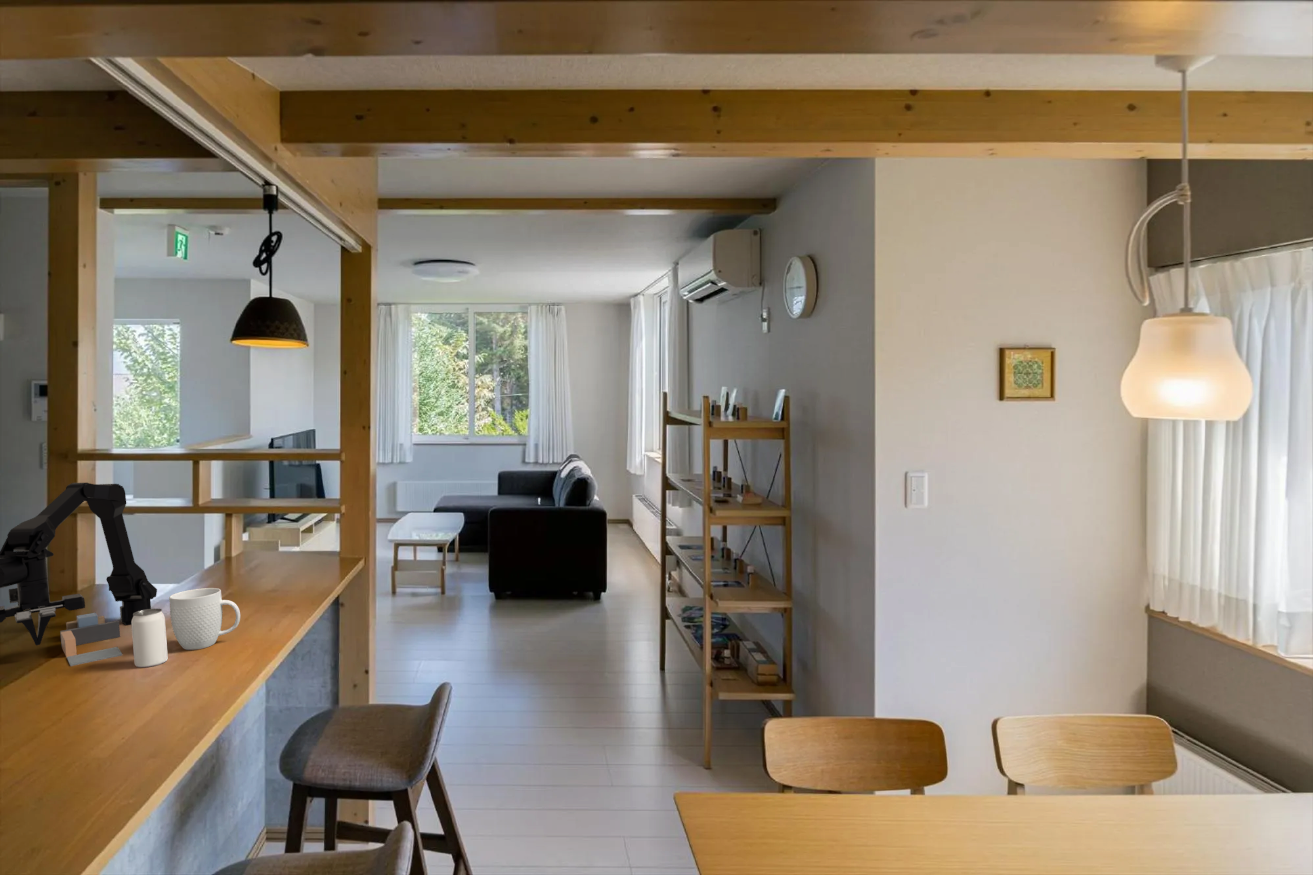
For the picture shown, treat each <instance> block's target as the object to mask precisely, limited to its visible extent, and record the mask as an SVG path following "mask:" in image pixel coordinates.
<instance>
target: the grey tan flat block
mask: <svg viewBox="0 0 1313 875" xmlns="http://www.w3.org/2000/svg"><path fill="white" fill-rule="evenodd" d="M59 632H60V634H59V635H60V642H61V644H60V645H61V649H62V651H63V653H64V655H65V658H67V657H69V656H74V655H78V654H77V646H79V645H86V644H91V643H96V642H101V641H106V640H110V639H112V640H113V639H116V638H117V639H118V638H120V637H121V630H120V621H119V620H114V621H107V622H105V623H102V624H96V625H91V626H85V627H80V628H74V629H69V630H67V629H64V630H60V631H59Z"/></svg>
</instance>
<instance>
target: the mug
mask: <svg viewBox="0 0 1313 875" xmlns="http://www.w3.org/2000/svg"><path fill="white" fill-rule="evenodd" d="M168 600H169V615H170V622H171V628H172V630H173V631H172V632H173V633H174V636H175V639H176V640H177V643H178V644H179V645H180V647H182V649H184V650H186V651H194V650H200V649H201V650H202V649H206V648H208V647H211V646H213V645H215V643H216V642H217V640H218V638H219V636H223V635H226V634H229V633H231V632H233V631H234V630H236V629H237V628H238V626H239V624H240V621H241V612H240V611H241V610H240V608H239V606H238V605H237V604H236V602H234V601H232V600H228V599H222V590H221V589H220V588H218V587H217V588H216V587H206V588H205V587H204V588H196V589H188V590H183V591H180V592H176V593H173V594H171V595H170V596H169V598H168ZM224 605H227V606H228V605H229V606H230V607H231V608H232V609H233V611H234V613H235V619H234V620H235V622H234V623H233V625H232V626H231V627H229V628H228V629H227V628H226V629H224V630H221V628H222V624H223V606H224Z"/></svg>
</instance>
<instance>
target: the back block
mask: <svg viewBox="0 0 1313 875" xmlns="http://www.w3.org/2000/svg"><path fill="white" fill-rule="evenodd" d="M102 623H106V619H105V616H104V615H98V624H102ZM65 625H66V626H65V627H66V630H69V629H74V628H78V627H77V620H73V621H72V620H71V621H67V622H66V621H65Z"/></svg>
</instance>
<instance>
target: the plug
mask: <svg viewBox="0 0 1313 875" xmlns="http://www.w3.org/2000/svg"><path fill="white" fill-rule="evenodd" d="M98 617H99V615H98V614H97V613H96V612H93V613H92V612H91V613H86V614H80V615H76V621H77V627H78V628H80V627H85V626H91V625H96V624H98Z"/></svg>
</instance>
